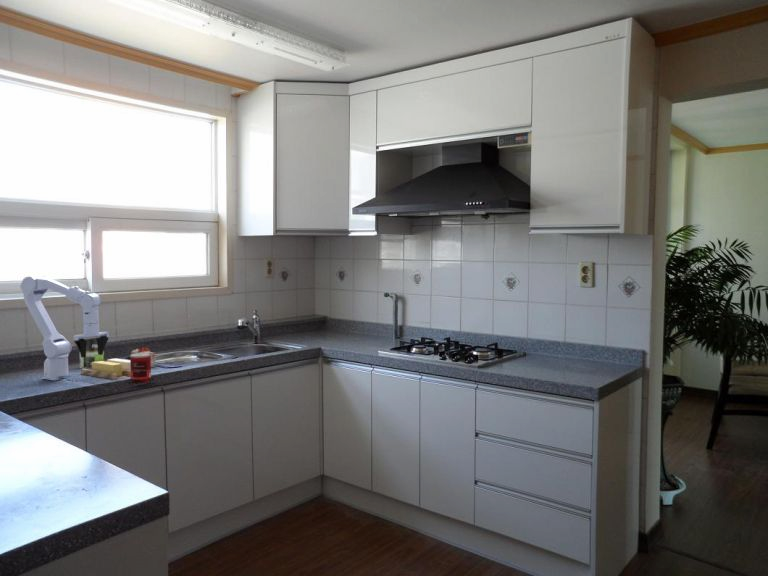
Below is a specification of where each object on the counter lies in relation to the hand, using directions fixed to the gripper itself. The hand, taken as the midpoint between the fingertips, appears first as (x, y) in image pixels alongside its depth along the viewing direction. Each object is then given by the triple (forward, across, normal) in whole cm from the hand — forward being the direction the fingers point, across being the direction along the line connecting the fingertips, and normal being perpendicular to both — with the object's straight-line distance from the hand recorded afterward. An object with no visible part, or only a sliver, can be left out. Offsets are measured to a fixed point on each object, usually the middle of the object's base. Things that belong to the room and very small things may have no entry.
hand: (92, 355), depth 247 cm
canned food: (+10, +8, -20) cm, 24 cm away
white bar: (+8, +12, -3) cm, 15 cm away
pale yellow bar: (+8, +4, -3) cm, 10 cm away
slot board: (+10, +8, -3) cm, 13 cm away
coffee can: (+10, +17, +26) cm, 33 cm away
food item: (+10, +26, +2) cm, 28 cm away
